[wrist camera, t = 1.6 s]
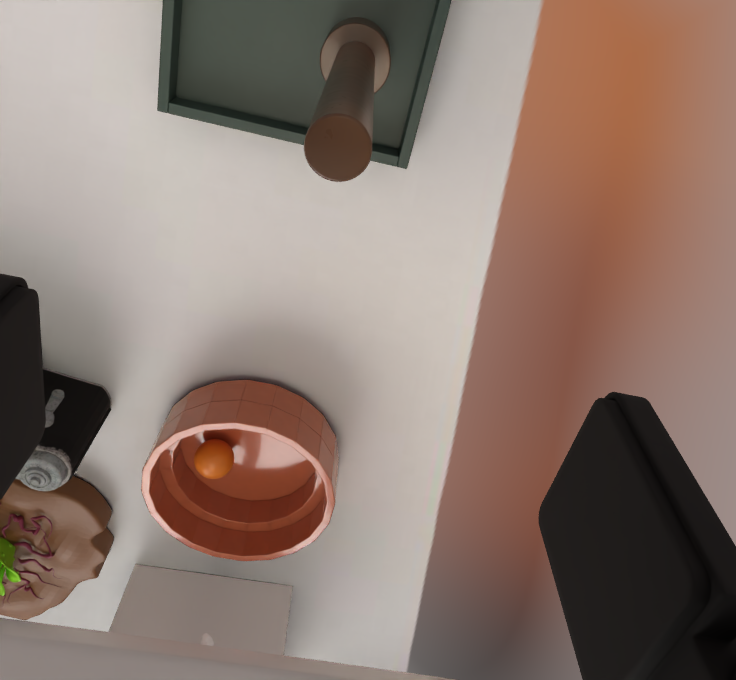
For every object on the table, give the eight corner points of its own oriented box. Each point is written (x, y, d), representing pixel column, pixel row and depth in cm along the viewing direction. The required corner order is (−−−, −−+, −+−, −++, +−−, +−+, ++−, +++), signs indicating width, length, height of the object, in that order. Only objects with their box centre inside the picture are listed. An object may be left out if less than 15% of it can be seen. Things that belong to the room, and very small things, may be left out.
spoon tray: (455, -33, 33) (459, -32, 31) (405, 158, 38) (406, 169, 36) (180, -108, 31) (168, -111, 30) (167, 102, 37) (156, 110, 35)
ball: (239, 434, 49) (232, 461, 47) (235, 463, 51) (227, 490, 48) (200, 427, 49) (191, 454, 46) (197, 456, 50) (187, 483, 48)
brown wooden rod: (397, 26, 34) (413, 100, 18) (381, 95, 36) (383, 219, 20) (330, 9, 34) (286, 69, 17) (318, 80, 35) (268, 193, 19)
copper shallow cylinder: (354, 394, 48) (352, 443, 43) (320, 519, 55) (315, 573, 50) (169, 359, 46) (145, 405, 41) (159, 492, 53) (138, 544, 49)
